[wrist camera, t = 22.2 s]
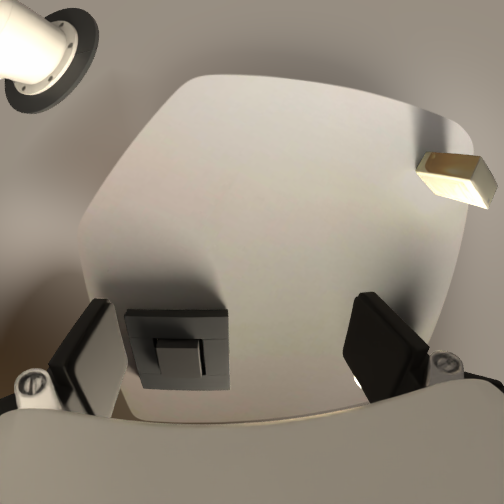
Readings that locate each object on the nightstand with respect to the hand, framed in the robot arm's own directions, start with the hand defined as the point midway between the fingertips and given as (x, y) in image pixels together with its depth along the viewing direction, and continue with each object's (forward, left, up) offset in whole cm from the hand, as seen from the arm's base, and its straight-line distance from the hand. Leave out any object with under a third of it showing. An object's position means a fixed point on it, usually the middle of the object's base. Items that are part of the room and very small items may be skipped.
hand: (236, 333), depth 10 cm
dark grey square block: (-7, -22, -26) cm, 35 cm away
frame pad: (-7, -22, -26) cm, 35 cm away
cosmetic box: (+32, +7, -26) cm, 42 cm away
